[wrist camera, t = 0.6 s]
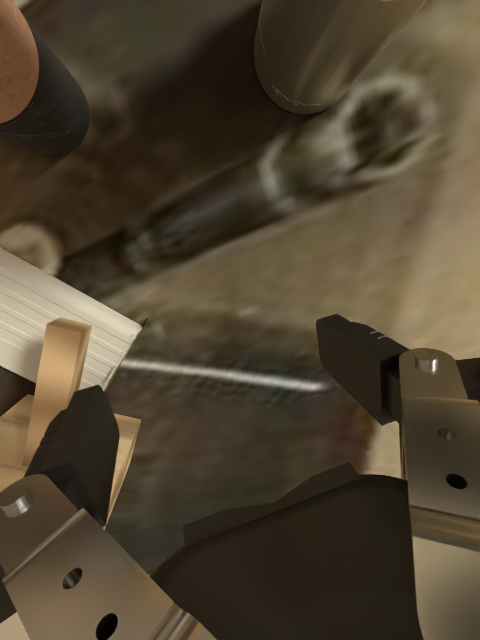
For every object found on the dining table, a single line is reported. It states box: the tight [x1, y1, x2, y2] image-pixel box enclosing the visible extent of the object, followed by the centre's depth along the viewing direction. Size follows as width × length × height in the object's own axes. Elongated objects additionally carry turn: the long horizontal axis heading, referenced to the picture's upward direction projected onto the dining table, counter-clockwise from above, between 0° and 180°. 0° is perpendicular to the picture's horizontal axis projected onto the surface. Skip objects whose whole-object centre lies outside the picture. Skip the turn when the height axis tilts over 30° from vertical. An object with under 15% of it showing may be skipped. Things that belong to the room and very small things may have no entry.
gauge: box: [0, 317, 141, 530], centre depth 28 cm, size 18×12×11 cm, turn 163°
